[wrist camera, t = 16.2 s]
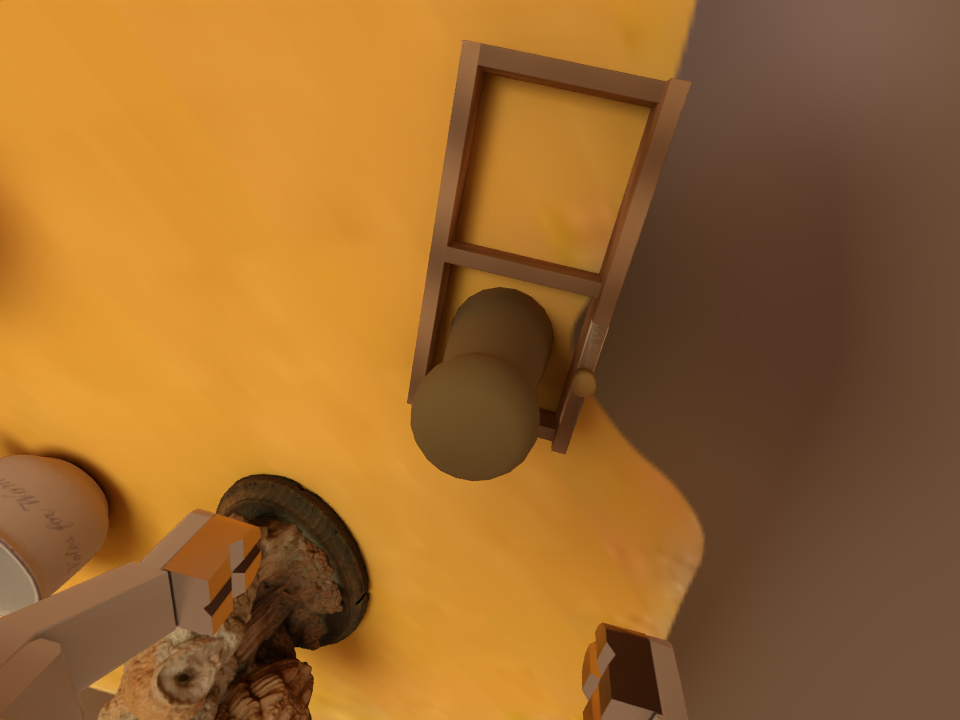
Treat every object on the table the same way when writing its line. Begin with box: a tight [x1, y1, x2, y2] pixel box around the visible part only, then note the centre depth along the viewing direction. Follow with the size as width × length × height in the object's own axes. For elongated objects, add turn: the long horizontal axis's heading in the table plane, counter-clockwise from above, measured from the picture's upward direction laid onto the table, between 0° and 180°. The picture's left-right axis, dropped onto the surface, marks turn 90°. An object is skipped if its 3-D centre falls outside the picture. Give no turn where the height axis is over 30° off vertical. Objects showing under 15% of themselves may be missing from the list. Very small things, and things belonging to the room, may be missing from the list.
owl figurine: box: [98, 475, 369, 720], centre depth 30 cm, size 18×12×17 cm, turn 13°
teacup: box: [0, 454, 109, 616], centre depth 35 cm, size 14×11×8 cm
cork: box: [411, 287, 553, 481], centre depth 22 cm, size 6×6×11 cm
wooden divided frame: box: [407, 40, 691, 454], centre depth 24 cm, size 18×10×4 cm, turn 168°
